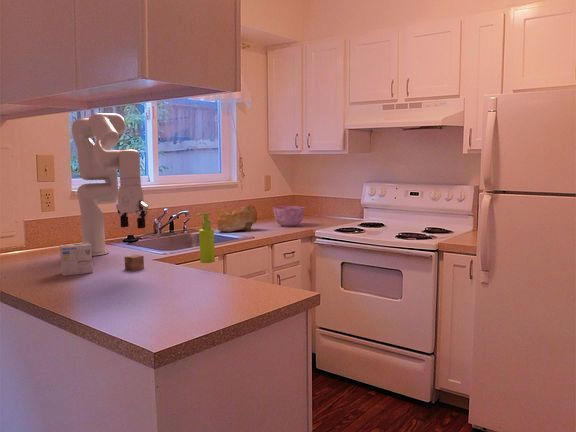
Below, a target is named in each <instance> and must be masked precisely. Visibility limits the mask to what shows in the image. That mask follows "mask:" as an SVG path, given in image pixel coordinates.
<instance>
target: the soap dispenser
mask: <svg viewBox="0 0 576 432" xmlns="http://www.w3.org/2000/svg"><path fill="white" fill-rule="evenodd" d="M195 215H196V216H197V217H198V216H203V220H202V221H201V229H199V230H198V232H199V233H198V234H199V240H198V241H199V259H200V261H199V262H200V263H201V264H211V263H215V261H216V259H215V258H216V257H215V255H216V254H215V230H214V229H213V228H211V227H212V226H211V225H212V223H211V220H209V216H210V215H211V213H210V212H199V213H196V214H195Z"/></svg>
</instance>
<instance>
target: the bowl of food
mask: <svg viewBox="0 0 576 432" xmlns="http://www.w3.org/2000/svg"><path fill="white" fill-rule="evenodd" d="M305 210H306V207H305V206H301V205H278V206H273V207H272V212H273V215H274V219H275V222H276V223H277V224H279V225H280V226H282V227H286V228H294V227H296V226H297V225H299V224H300V223H302V221H303V219H304V215H305Z"/></svg>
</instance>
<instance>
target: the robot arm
mask: <svg viewBox="0 0 576 432" xmlns="http://www.w3.org/2000/svg"><path fill="white" fill-rule="evenodd" d="M125 130H126V122H125V119H124V117H123V116H122V115H120V114H119V113H103V112H98V113H94V114H91V115H90V116H89V117H87V118H86V117H84V118H77V119H75V120H74V121H73V122H72V123H71V135H72V138H73V141H74V143H75V146H76V151H77V160H78V161H77V163H78V173H79V176H80V179H82V180H83V181H104V182H100V183H99V182H96V183H92V182H91V183H84V184H82V185H80V186H78V188H77V190H76V196H77V200H78V204H79V210H80V221H81V224H80V225H81V239H82V241H81V243H90V244H91V249H92V257H93V256H94V257H95V256H102V255H106V254H110V249H108V248H107V249H106V238H105V237H106V235H105V234H106V233H105V232H106V231H105V220H104V219H105V218H104V213H103V211H102V209H100V208H99V206H98V205H100V206H101V205H108V204H109V205H110V204H115V203H117V204H116V205H115V207H116V210H117V213H118V216H119V218H120V219H119V220H120V228H128V227H129V216H128V214H134V213H135V214H136V215H137V218H136V221H137V225H136V226H137V229H138V230H140V229H146V217H147V216H146V215H148V210H149V206H148V204H146V203H145V201H144V200H145V199H144V193H143V188H142V181H141V179H142V178H141V163H140V161H141V160H140V152H139V150H135V149H112V148H114V147H115V146H116V145H118V143H119V141H120V135H122V134H123V133H124V132H125ZM92 139H96V140H95V142H94V140H92ZM118 171H119V179H118ZM118 180H119V181H118ZM119 184H120V186H119Z"/></svg>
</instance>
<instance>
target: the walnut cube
mask: <svg viewBox="0 0 576 432" xmlns="http://www.w3.org/2000/svg"><path fill="white" fill-rule="evenodd" d="M144 259H145V258H144V255H140V254H130V255H125V256H124V269H125V270H128V271H138V270H142V269H145V262H144V261H145V260H144Z"/></svg>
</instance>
